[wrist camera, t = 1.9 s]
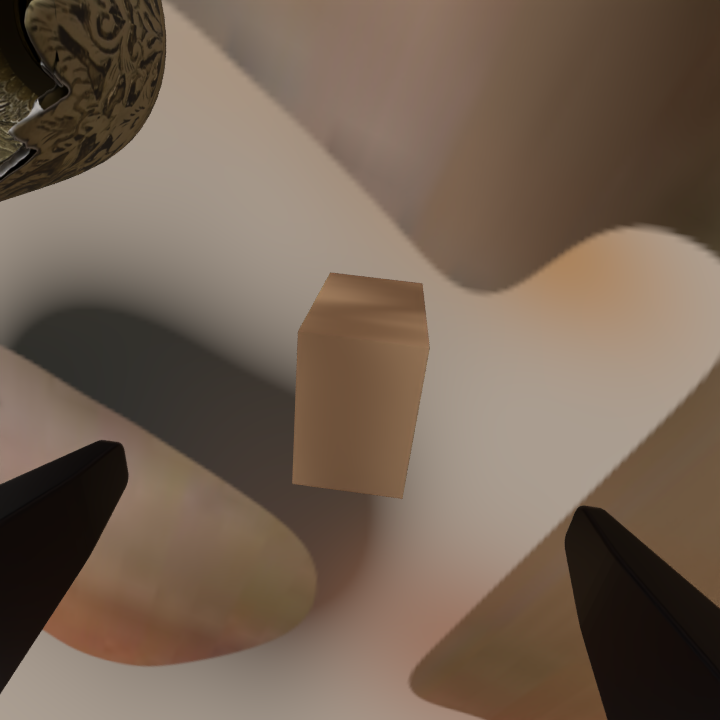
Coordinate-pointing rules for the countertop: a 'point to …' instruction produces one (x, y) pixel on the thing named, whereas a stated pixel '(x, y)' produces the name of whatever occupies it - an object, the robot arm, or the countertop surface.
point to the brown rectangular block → (359, 384)
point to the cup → (74, 85)
